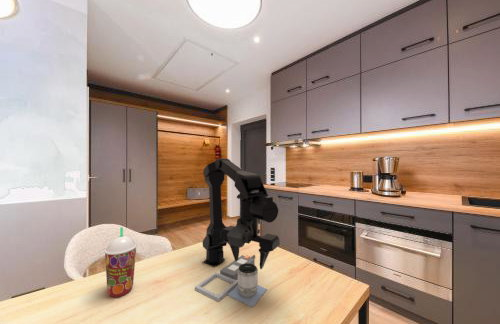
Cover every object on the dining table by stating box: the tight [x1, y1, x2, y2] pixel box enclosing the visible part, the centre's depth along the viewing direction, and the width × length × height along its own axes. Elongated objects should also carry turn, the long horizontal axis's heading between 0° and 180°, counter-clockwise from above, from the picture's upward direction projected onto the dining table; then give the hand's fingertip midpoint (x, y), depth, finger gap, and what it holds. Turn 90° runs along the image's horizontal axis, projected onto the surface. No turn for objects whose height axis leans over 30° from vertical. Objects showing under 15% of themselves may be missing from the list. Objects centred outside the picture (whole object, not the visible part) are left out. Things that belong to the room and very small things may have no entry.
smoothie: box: [104, 226, 138, 298], centre depth 61 cm, size 8×8×20 cm
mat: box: [227, 284, 268, 308], centre depth 61 cm, size 9×9×1 cm
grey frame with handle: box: [194, 254, 256, 303], centre depth 72 cm, size 10×29×3 cm, turn 148°
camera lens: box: [237, 263, 259, 297], centre depth 61 cm, size 6×6×8 cm
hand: (248, 264), depth 61 cm, fingers open, 9 cm apart
